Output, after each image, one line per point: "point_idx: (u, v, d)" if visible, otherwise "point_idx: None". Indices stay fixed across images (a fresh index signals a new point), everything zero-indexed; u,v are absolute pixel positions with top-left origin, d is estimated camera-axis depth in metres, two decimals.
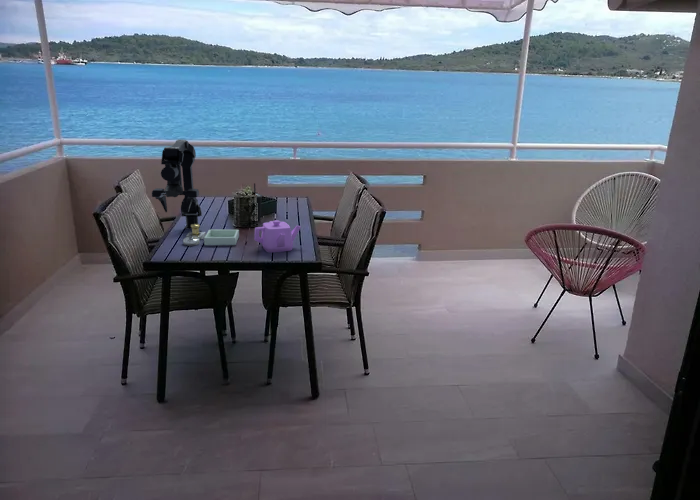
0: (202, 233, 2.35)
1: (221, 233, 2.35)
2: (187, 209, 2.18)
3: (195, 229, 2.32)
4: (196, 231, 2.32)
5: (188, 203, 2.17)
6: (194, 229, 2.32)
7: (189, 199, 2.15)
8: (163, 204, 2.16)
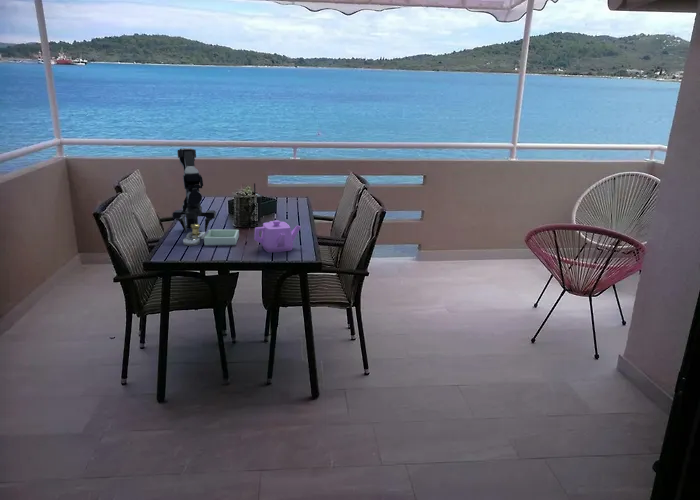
0: (202, 233, 2.35)
1: (221, 233, 2.35)
2: (205, 229, 2.33)
3: (195, 229, 2.32)
4: (196, 231, 2.32)
5: (206, 224, 2.32)
6: (194, 229, 2.32)
7: (207, 220, 2.30)
8: (183, 225, 2.31)
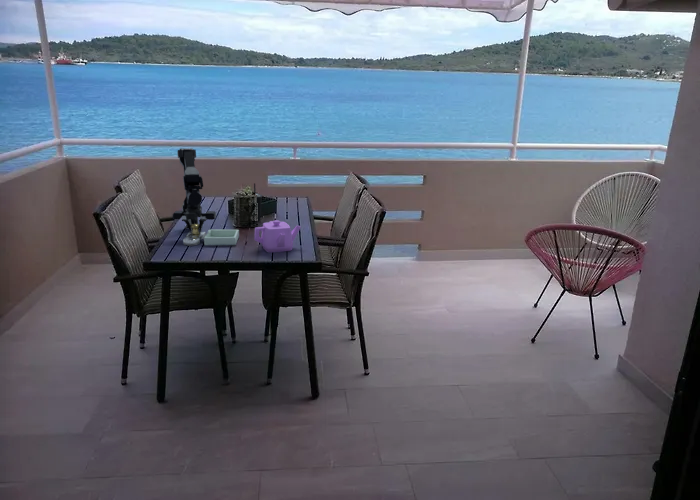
0: (202, 233, 2.35)
1: (221, 233, 2.35)
2: (199, 230, 2.33)
3: (195, 229, 2.32)
4: (196, 231, 2.32)
5: (200, 224, 2.31)
6: (194, 229, 2.32)
7: (201, 221, 2.30)
8: (189, 226, 2.31)
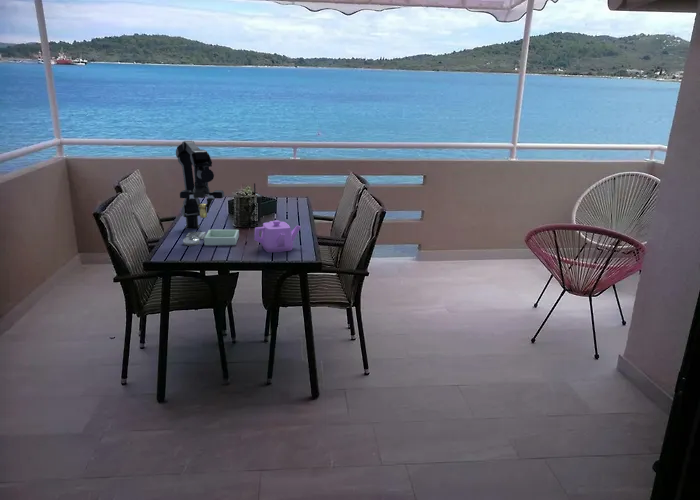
0: (202, 233, 2.35)
1: (221, 233, 2.35)
2: (207, 210, 2.28)
3: (203, 208, 2.27)
4: (204, 211, 2.27)
5: (208, 204, 2.26)
6: (202, 208, 2.27)
7: (209, 200, 2.25)
8: (196, 205, 2.26)
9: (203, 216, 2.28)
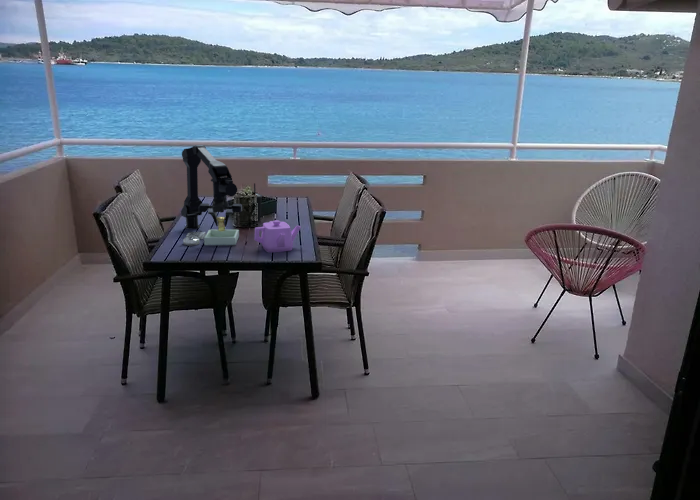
0: (202, 233, 2.35)
1: (221, 233, 2.35)
2: (225, 223, 2.27)
3: (221, 222, 2.26)
4: (222, 224, 2.26)
5: (226, 217, 2.26)
6: (220, 222, 2.26)
7: (228, 214, 2.24)
8: (214, 218, 2.25)
9: (221, 230, 2.27)
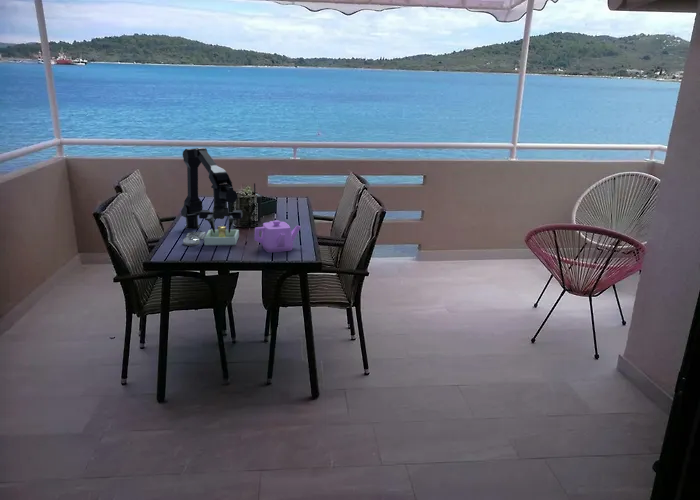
0: (202, 233, 2.35)
1: None
2: (229, 229, 2.28)
3: (222, 231, 2.27)
4: (223, 233, 2.28)
5: (230, 224, 2.27)
6: (221, 231, 2.27)
7: (231, 220, 2.25)
8: (212, 225, 2.26)
9: None
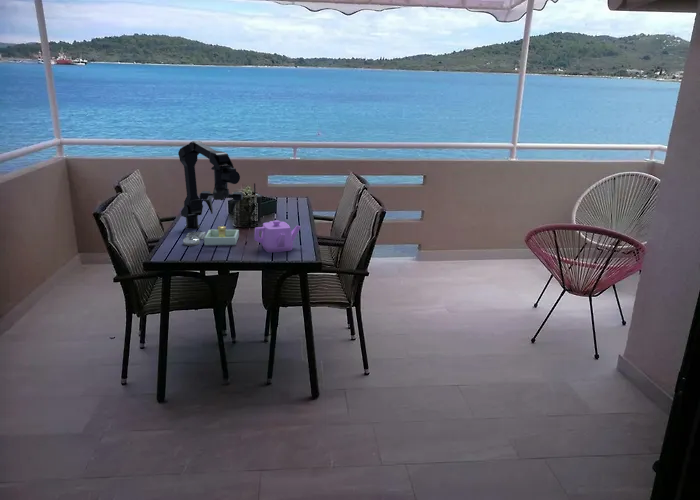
0: (202, 233, 2.35)
1: None
2: (232, 211, 2.30)
3: (222, 231, 2.27)
4: (223, 233, 2.28)
5: (233, 205, 2.29)
6: (221, 231, 2.27)
7: (234, 202, 2.27)
8: (209, 206, 2.28)
9: None
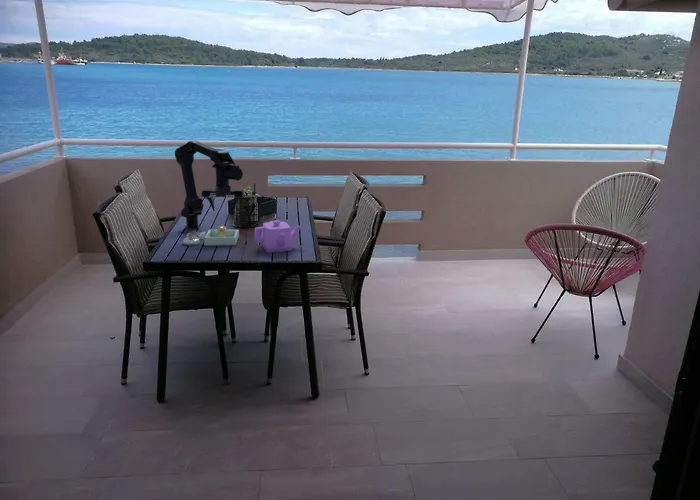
0: (202, 233, 2.35)
1: None
2: (233, 208, 2.34)
3: (221, 231, 2.27)
4: (222, 233, 2.28)
5: (234, 202, 2.33)
6: (220, 231, 2.27)
7: (236, 199, 2.31)
8: (211, 203, 2.32)
9: None
